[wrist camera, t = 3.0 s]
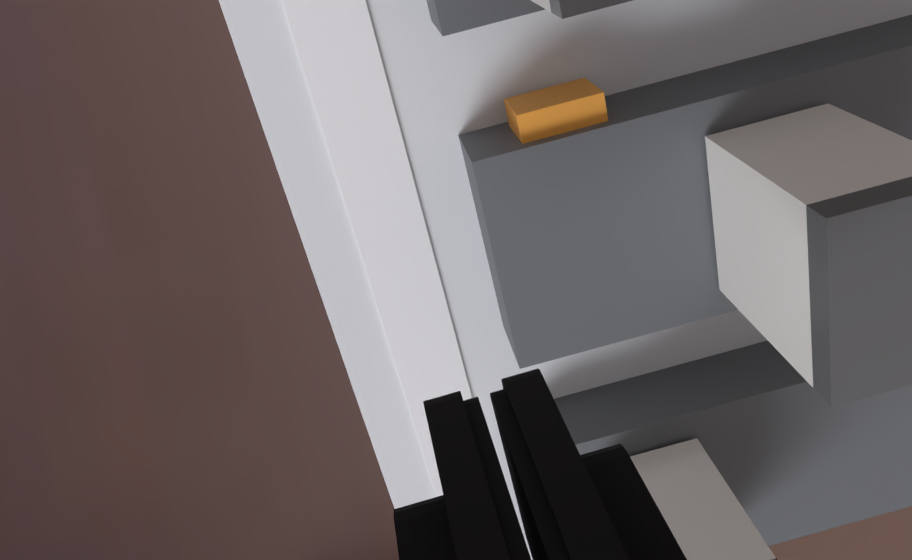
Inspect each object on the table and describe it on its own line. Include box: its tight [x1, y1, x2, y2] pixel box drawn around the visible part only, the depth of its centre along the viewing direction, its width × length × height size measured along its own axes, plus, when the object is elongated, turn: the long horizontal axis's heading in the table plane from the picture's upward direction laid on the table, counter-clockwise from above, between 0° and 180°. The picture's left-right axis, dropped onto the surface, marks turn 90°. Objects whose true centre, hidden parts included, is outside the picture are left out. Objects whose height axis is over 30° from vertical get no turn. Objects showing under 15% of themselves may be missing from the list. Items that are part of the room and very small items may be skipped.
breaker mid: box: [705, 103, 912, 407], centre depth 16 cm, size 3×4×5 cm
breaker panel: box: [219, 0, 912, 560], centre depth 19 cm, size 20×21×4 cm
